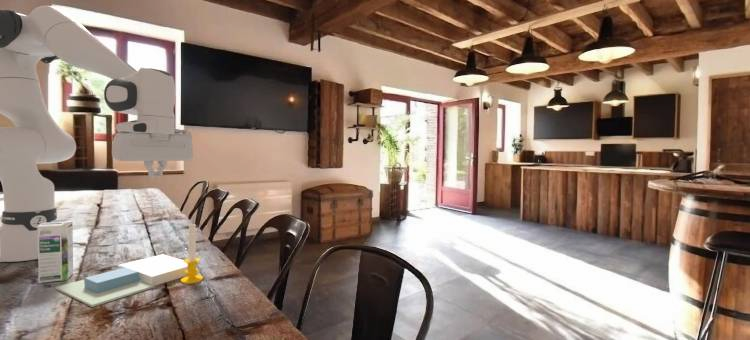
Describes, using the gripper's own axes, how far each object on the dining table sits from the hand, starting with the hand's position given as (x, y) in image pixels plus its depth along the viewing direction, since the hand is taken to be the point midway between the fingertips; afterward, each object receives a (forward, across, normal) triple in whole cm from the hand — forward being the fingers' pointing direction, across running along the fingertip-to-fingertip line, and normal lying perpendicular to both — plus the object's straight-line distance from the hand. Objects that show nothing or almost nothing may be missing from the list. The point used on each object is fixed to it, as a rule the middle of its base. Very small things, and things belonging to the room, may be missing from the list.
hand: (155, 177), depth 98 cm
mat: (+26, +14, +4) cm, 30 cm away
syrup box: (+27, +17, -13) cm, 34 cm away
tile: (+26, +12, +5) cm, 29 cm away
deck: (+26, +1, +4) cm, 27 cm away
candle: (+26, -1, +16) cm, 31 cm away
